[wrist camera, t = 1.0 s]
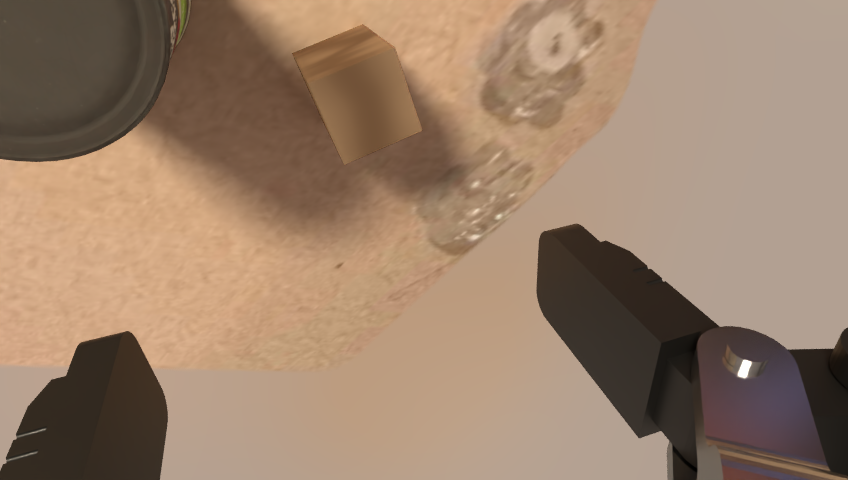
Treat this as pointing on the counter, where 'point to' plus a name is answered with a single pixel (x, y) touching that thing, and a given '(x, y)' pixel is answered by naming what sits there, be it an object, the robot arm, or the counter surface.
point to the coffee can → (81, 71)
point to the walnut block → (359, 92)
